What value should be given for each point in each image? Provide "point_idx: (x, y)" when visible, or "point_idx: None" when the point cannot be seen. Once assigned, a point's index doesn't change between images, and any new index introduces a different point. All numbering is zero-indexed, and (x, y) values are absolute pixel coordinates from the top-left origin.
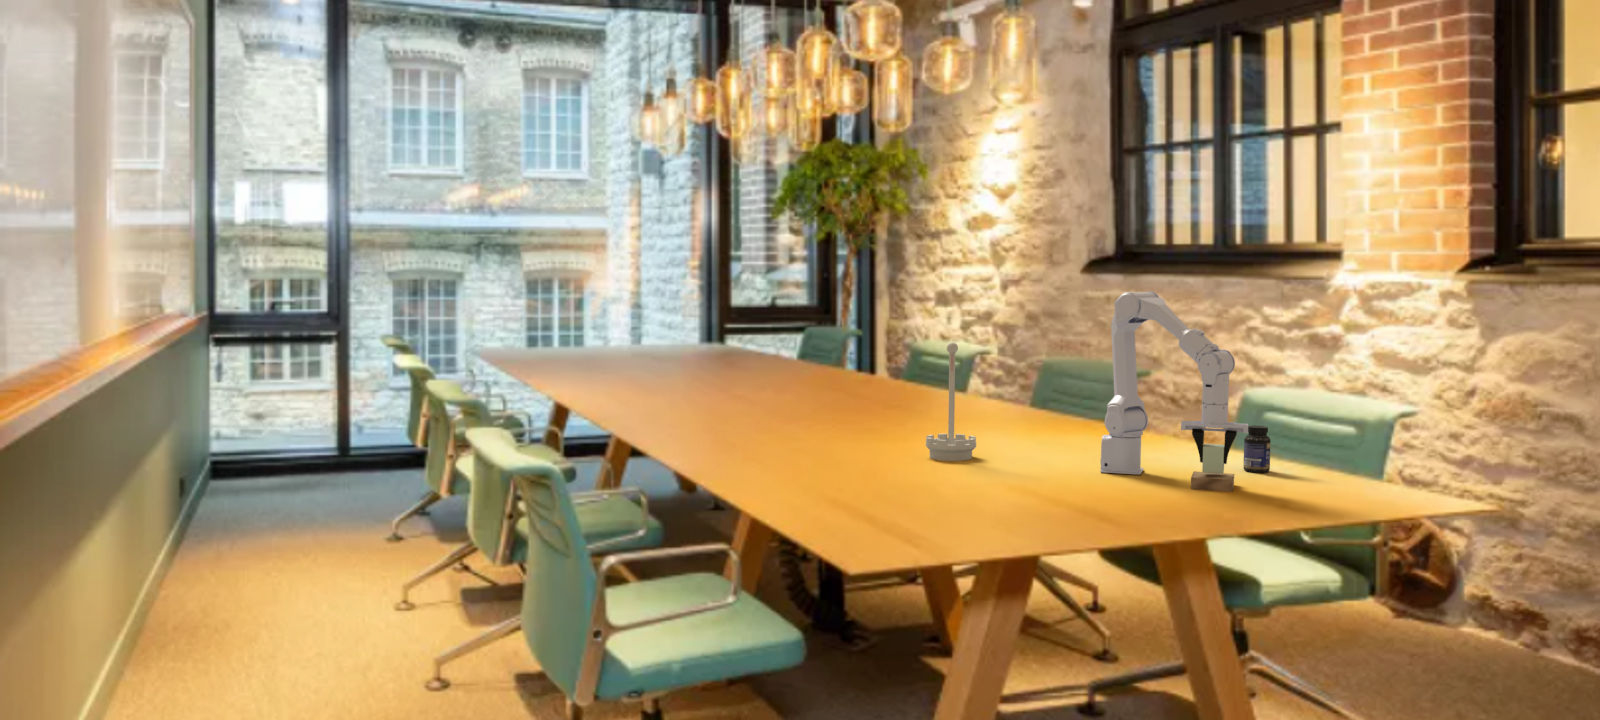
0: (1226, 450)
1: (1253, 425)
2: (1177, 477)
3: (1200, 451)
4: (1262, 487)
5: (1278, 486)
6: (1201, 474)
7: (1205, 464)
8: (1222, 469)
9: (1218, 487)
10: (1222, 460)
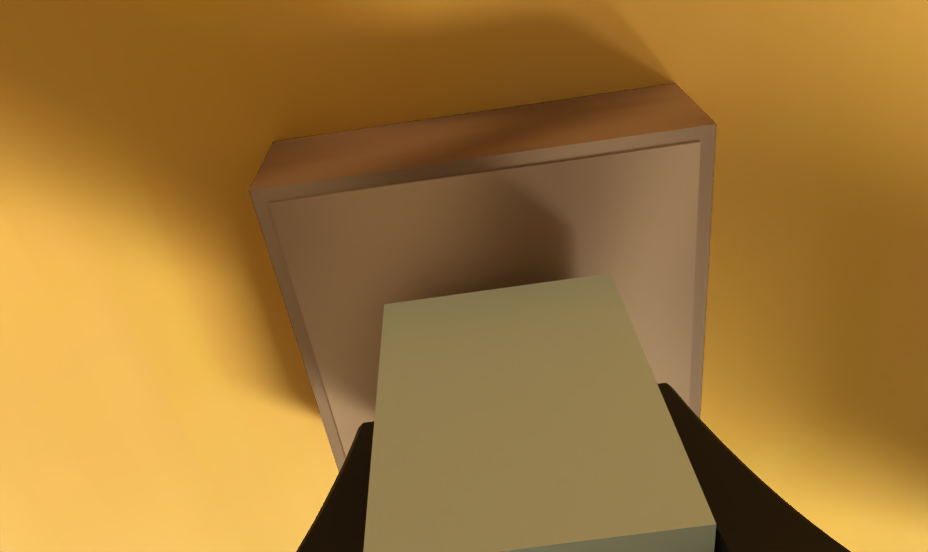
0: (332, 549)
1: None
2: (787, 502)
3: (723, 472)
4: (134, 438)
5: (57, 515)
6: None
7: (598, 335)
8: (389, 332)
9: (405, 134)
10: (387, 405)
